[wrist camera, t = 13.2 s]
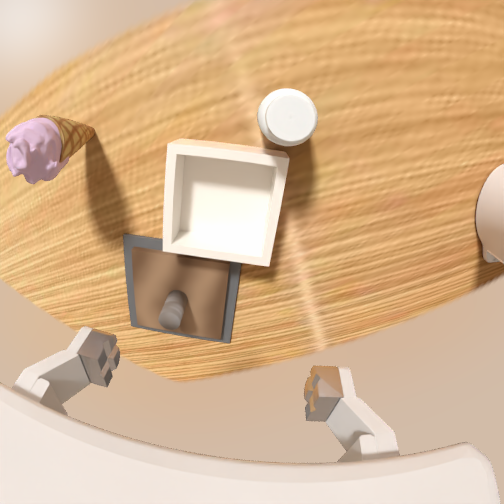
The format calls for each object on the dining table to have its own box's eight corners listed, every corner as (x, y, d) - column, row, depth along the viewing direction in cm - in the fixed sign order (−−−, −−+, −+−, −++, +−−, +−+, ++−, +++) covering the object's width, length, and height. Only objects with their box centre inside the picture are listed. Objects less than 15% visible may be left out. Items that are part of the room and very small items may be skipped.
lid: (230, 260, 38) (225, 286, 33) (221, 334, 44) (216, 363, 39) (134, 246, 38) (116, 268, 32) (139, 320, 44) (127, 347, 38)
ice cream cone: (122, 133, 31) (45, 155, 18) (94, 169, 33) (18, 209, 20) (89, 100, 29) (6, 108, 16) (64, 137, 31) (-17, 163, 18)
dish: (285, 151, 32) (289, 158, 28) (268, 246, 38) (269, 266, 33) (180, 138, 32) (167, 143, 27) (173, 233, 37) (162, 251, 33)
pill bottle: (284, 149, 32) (293, 164, 23) (247, 118, 31) (243, 121, 22) (316, 115, 30) (338, 117, 22) (280, 83, 29) (288, 72, 20)
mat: (243, 250, 38) (243, 251, 38) (229, 341, 45) (229, 343, 45) (124, 233, 37) (123, 234, 37) (132, 324, 45) (131, 326, 44)
